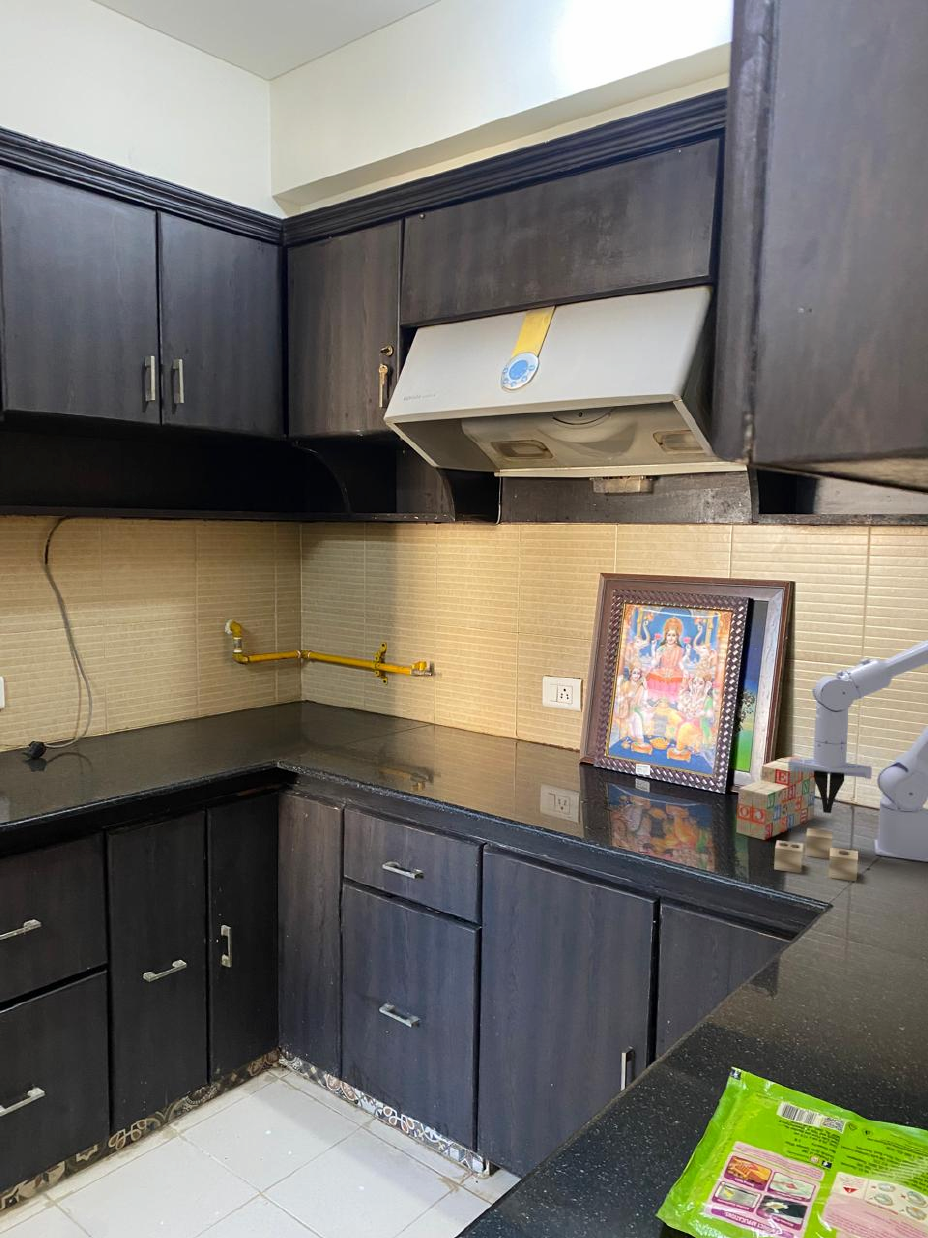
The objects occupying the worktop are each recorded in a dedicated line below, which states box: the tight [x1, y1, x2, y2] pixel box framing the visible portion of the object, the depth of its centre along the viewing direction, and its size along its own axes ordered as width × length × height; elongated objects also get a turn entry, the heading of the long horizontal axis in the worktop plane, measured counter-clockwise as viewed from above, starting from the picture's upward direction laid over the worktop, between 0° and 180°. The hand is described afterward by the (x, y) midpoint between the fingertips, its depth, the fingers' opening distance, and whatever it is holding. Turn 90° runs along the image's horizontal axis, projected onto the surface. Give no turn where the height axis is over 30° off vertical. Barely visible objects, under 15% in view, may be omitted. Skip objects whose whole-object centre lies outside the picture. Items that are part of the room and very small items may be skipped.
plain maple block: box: [804, 827, 834, 860], centre depth 172 cm, size 4×4×4 cm
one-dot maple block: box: [827, 847, 859, 882], centre depth 162 cm, size 4×4×4 cm
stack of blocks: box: [735, 756, 817, 841], centre depth 188 cm, size 21×6×12 cm, turn 135°
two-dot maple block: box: [773, 839, 804, 874], centre depth 165 cm, size 4×4×4 cm
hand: (827, 811), depth 175 cm, fingers closed
